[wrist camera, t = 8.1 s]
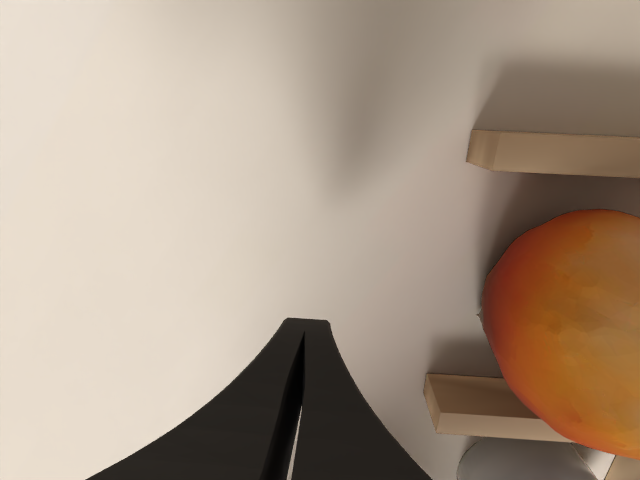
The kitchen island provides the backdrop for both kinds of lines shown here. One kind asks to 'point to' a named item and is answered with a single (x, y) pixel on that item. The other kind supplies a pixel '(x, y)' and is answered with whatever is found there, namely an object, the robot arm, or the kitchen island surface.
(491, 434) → the wooden tray
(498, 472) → the grey round dome
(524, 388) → the fruit
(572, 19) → the kitchen island surface
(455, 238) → the kitchen island surface
